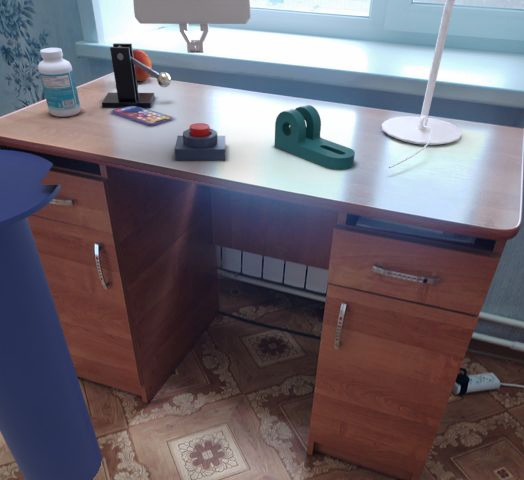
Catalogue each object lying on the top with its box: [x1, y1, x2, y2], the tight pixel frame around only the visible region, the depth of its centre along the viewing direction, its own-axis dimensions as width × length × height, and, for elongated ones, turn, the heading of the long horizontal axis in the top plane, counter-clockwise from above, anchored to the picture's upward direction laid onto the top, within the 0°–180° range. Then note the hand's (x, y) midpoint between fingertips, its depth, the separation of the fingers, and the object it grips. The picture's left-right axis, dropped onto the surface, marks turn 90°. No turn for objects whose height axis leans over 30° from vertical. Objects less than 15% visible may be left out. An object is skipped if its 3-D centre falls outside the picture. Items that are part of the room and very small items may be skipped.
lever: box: [118, 45, 172, 88], centre depth 125 cm, size 14×3×3 cm, turn 93°
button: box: [189, 122, 211, 137], centre depth 102 cm, size 4×4×2 cm
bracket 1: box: [101, 42, 155, 109], centre depth 126 cm, size 12×9×13 cm
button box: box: [174, 128, 226, 161], centre depth 103 cm, size 10×8×4 cm
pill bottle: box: [37, 47, 82, 118], centre depth 118 cm, size 8×7×14 cm
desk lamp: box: [381, 0, 463, 169], centre depth 95 cm, size 37×18×45 cm, turn 169°
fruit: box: [132, 49, 153, 82], centre depth 143 cm, size 8×8×8 cm
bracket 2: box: [273, 104, 356, 171], centre depth 103 cm, size 18×7×8 cm, turn 43°
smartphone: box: [111, 106, 173, 127], centre depth 122 cm, size 1×7×15 cm
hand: (195, 52), depth 93 cm, fingers closed
